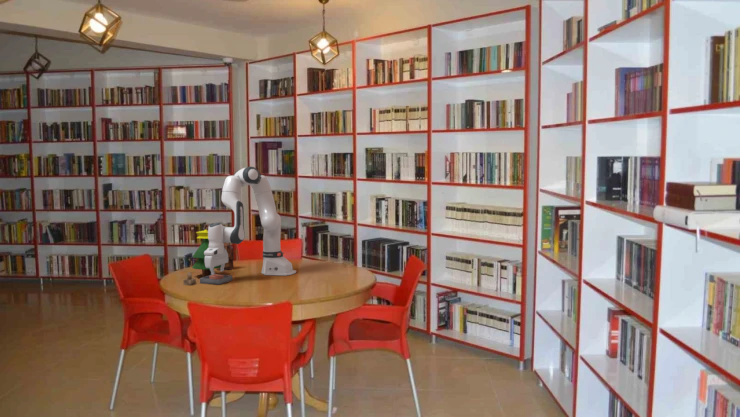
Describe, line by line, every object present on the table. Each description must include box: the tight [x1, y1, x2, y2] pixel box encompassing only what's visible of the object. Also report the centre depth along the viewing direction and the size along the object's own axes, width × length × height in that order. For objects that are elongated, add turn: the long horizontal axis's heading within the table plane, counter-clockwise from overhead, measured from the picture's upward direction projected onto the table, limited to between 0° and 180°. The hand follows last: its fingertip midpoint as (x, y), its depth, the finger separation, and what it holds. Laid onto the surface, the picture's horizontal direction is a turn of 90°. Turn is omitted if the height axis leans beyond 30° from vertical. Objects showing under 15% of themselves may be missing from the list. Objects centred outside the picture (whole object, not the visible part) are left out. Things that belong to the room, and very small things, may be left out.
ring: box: [209, 273, 224, 279], centre depth 364 cm, size 6×6×3 cm
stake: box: [182, 271, 197, 286], centre depth 357 cm, size 5×5×7 cm
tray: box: [199, 273, 233, 286], centre depth 364 cm, size 14×14×3 cm
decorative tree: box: [191, 229, 221, 278], centre depth 380 cm, size 19×19×30 cm
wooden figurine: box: [216, 242, 235, 271], centre depth 403 cm, size 12×6×18 cm, turn 100°
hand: (217, 272), depth 363 cm, fingers open, 8 cm apart
